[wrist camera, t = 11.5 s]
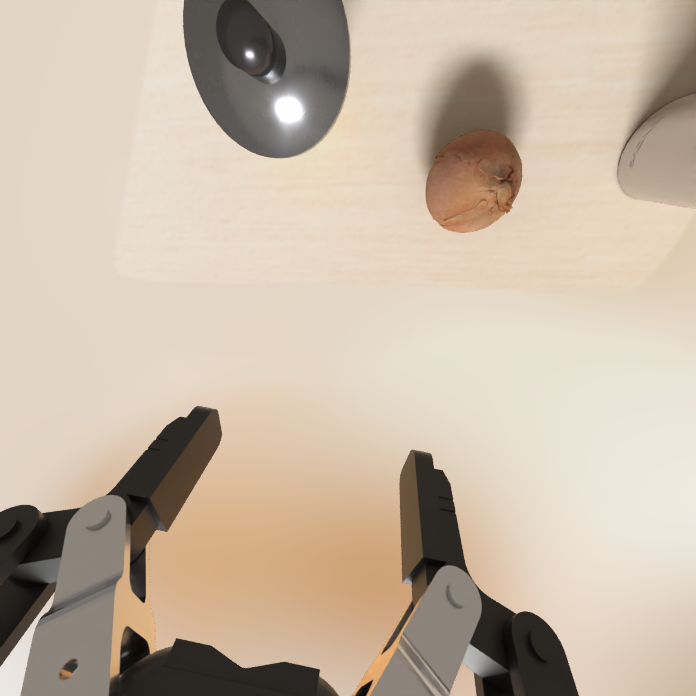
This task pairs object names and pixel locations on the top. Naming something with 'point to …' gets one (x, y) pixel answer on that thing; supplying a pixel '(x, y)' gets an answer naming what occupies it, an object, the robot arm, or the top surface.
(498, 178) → the onion
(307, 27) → the lid
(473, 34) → the top surface
